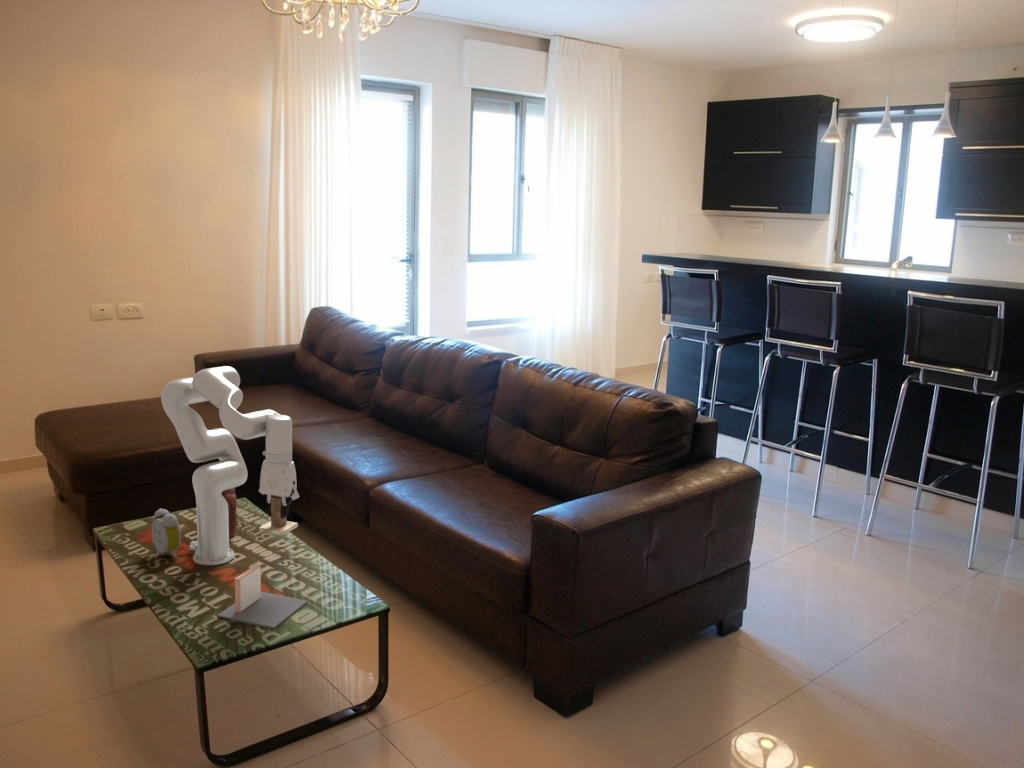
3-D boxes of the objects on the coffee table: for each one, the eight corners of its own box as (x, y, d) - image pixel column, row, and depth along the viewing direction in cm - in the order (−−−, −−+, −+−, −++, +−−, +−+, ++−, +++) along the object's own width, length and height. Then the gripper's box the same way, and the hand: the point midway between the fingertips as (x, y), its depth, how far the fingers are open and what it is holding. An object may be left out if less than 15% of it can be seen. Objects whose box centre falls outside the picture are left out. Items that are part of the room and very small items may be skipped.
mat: (217, 616, 230) (217, 614, 229) (254, 591, 245) (254, 589, 245) (273, 629, 224) (273, 627, 224) (307, 602, 240) (307, 600, 240)
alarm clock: (182, 559, 266) (181, 515, 263) (161, 564, 261) (159, 519, 258) (168, 548, 274) (166, 505, 271) (147, 553, 269) (145, 509, 266)
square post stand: (259, 531, 245) (259, 498, 243) (274, 522, 253) (274, 490, 251) (282, 535, 243) (282, 502, 241) (297, 526, 251) (298, 494, 249)
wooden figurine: (214, 527, 293) (212, 479, 289) (232, 525, 296) (231, 477, 292) (219, 539, 283) (218, 489, 279) (239, 537, 286) (238, 487, 282)
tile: (235, 611, 232) (234, 578, 230) (256, 596, 241) (256, 564, 239) (240, 612, 231) (239, 579, 229) (261, 597, 241) (261, 565, 239)
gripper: (247, 456, 242) (247, 515, 246) (296, 464, 238) (296, 524, 241) (262, 449, 249) (262, 507, 253) (310, 457, 245) (309, 516, 248)
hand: (278, 515), depth 247 cm, fingers closed on square post stand, 3 cm apart
